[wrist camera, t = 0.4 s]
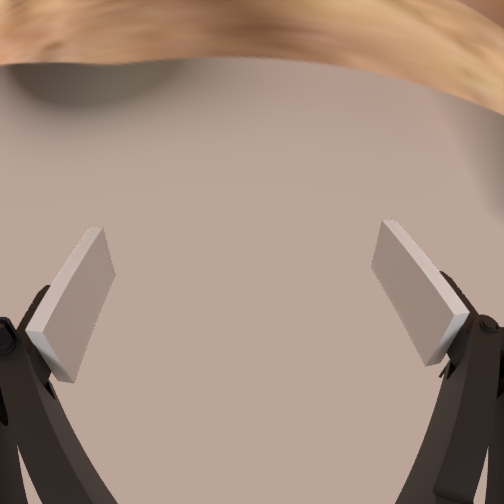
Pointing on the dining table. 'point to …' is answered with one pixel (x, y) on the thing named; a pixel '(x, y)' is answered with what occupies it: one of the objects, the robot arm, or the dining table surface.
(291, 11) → the dining table surface
